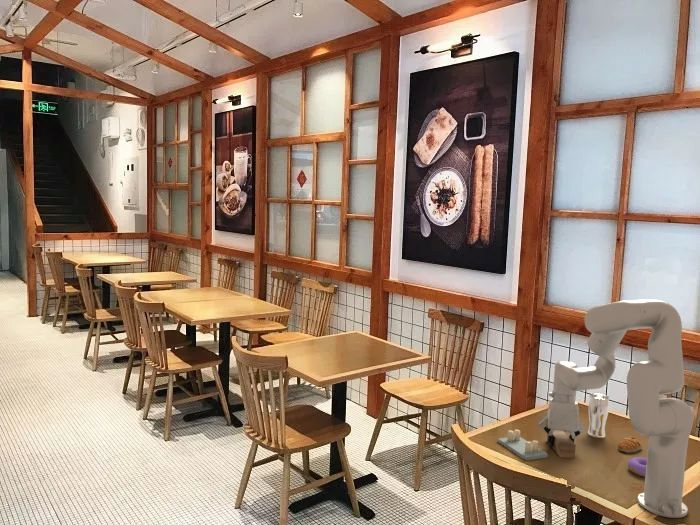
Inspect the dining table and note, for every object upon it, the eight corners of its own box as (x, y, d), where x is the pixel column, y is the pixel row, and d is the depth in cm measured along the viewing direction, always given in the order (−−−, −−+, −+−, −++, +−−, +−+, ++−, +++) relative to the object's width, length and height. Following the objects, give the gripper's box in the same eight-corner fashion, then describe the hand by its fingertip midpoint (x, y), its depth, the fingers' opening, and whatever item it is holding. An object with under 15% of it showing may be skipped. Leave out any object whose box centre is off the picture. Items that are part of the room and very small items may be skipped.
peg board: (547, 457, 193) (548, 444, 193) (525, 460, 190) (526, 447, 190) (518, 439, 208) (519, 426, 208) (497, 441, 205) (498, 429, 205)
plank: (574, 457, 194) (575, 445, 193) (559, 457, 194) (560, 444, 194) (560, 441, 208) (561, 429, 207) (547, 440, 208) (547, 428, 208)
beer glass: (585, 435, 213) (588, 397, 212) (587, 429, 220) (590, 392, 218) (605, 439, 210) (608, 400, 209) (607, 433, 216) (610, 395, 215)
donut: (630, 461, 192) (635, 448, 191) (660, 475, 186) (664, 462, 185) (622, 471, 184) (627, 458, 183) (653, 486, 179) (658, 473, 177)
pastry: (632, 456, 197) (632, 445, 197) (612, 450, 202) (613, 439, 202) (642, 449, 203) (643, 439, 203) (623, 443, 208) (624, 433, 208)
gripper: (539, 397, 197) (536, 448, 199) (592, 403, 194) (588, 454, 195) (537, 391, 205) (534, 439, 206) (588, 396, 201) (584, 445, 203)
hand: (560, 446), depth 201 cm, fingers closed on plank, 5 cm apart
